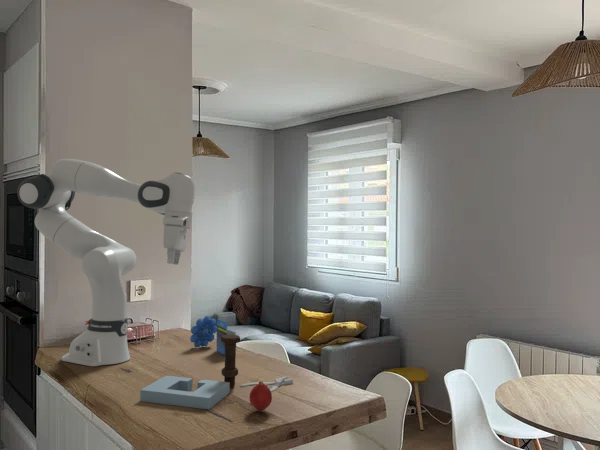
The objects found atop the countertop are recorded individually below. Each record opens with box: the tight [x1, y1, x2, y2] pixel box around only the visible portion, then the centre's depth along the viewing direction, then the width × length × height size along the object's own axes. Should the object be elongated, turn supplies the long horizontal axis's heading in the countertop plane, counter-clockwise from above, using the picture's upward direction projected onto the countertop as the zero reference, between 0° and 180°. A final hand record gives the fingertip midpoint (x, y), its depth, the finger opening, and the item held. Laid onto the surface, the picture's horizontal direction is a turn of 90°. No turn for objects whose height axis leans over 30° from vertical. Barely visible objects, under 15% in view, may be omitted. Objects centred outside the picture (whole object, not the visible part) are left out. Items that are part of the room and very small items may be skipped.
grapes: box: [189, 315, 217, 348], centre depth 206 cm, size 12×7×12 cm, turn 131°
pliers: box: [240, 375, 294, 393], centre depth 161 cm, size 10×2×15 cm
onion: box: [249, 380, 273, 412], centre depth 140 cm, size 6×6×8 cm
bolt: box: [221, 334, 241, 389], centre depth 159 cm, size 6×5×15 cm
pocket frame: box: [139, 375, 231, 410], centre depth 149 cm, size 20×14×3 cm
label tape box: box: [216, 318, 237, 356], centre depth 198 cm, size 9×4×12 cm, turn 34°
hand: (172, 264), depth 176 cm, fingers open, 8 cm apart
